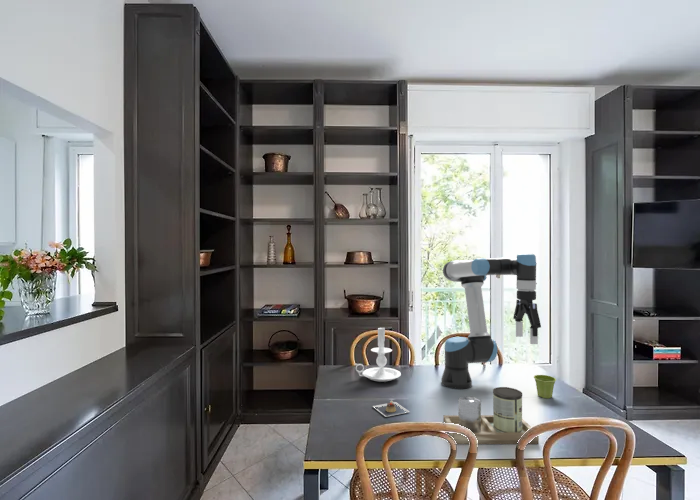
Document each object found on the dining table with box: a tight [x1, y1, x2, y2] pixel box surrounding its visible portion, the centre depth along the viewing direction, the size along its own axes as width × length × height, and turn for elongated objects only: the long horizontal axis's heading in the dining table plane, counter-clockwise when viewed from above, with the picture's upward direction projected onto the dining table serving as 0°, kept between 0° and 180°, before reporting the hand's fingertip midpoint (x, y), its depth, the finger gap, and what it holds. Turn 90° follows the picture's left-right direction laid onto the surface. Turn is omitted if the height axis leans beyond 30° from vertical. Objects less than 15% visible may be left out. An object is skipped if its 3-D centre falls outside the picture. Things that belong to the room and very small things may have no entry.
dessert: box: [372, 400, 411, 418], centre depth 168 cm, size 12×12×5 cm
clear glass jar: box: [458, 396, 482, 433], centre depth 147 cm, size 8×8×11 cm
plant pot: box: [533, 374, 557, 399], centre depth 184 cm, size 9×9×9 cm
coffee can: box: [492, 386, 523, 432], centre depth 147 cm, size 10×10×14 cm
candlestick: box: [354, 326, 402, 383], centre depth 208 cm, size 21×25×28 cm
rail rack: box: [443, 414, 540, 445], centre depth 147 cm, size 16×30×4 cm, turn 90°
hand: (526, 340), depth 166 cm, fingers open, 13 cm apart
